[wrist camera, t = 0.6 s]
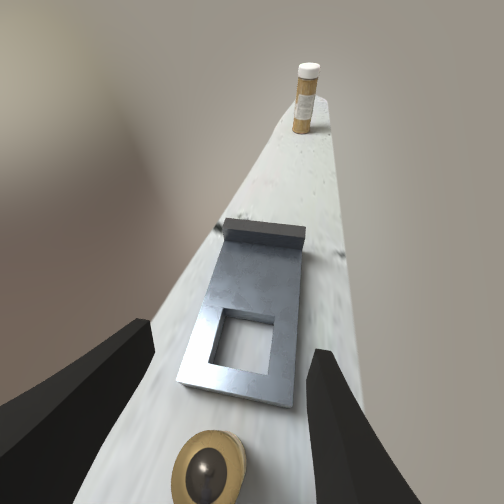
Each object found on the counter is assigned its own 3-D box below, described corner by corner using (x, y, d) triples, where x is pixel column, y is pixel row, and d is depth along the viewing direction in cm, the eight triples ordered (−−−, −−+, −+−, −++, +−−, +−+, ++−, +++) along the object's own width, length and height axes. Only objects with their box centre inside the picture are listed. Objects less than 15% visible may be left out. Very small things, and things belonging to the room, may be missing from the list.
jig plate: (289, 408, 22) (295, 403, 18) (182, 385, 24) (167, 375, 20) (300, 250, 34) (305, 226, 30) (229, 241, 36) (225, 217, 32)
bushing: (240, 506, 18) (232, 539, 13) (188, 492, 19) (158, 516, 13) (250, 436, 21) (247, 438, 15) (204, 426, 21) (185, 423, 16)
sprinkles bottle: (295, 125, 61) (302, 61, 50) (312, 128, 59) (323, 62, 49) (289, 132, 58) (296, 66, 48) (306, 135, 57) (317, 68, 46)
